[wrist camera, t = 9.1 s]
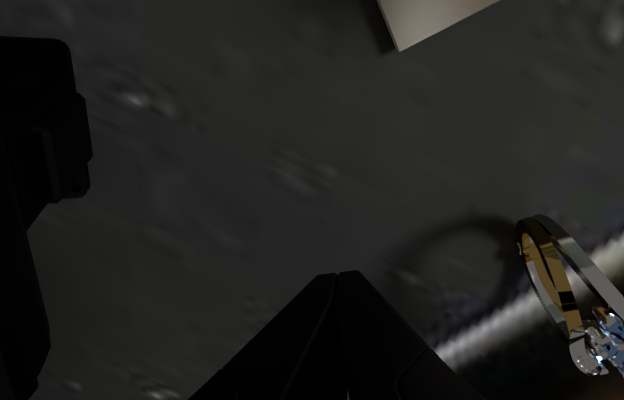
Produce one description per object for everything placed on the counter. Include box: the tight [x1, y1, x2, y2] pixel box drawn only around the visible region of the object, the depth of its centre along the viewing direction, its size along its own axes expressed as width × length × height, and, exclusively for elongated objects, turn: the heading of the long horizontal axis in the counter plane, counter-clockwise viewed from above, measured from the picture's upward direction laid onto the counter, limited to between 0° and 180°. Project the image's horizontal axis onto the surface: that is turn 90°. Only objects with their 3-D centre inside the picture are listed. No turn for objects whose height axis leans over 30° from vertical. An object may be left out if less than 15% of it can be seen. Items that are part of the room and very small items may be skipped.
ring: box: [516, 214, 624, 378], centre depth 23 cm, size 7×3×8 cm, turn 21°
